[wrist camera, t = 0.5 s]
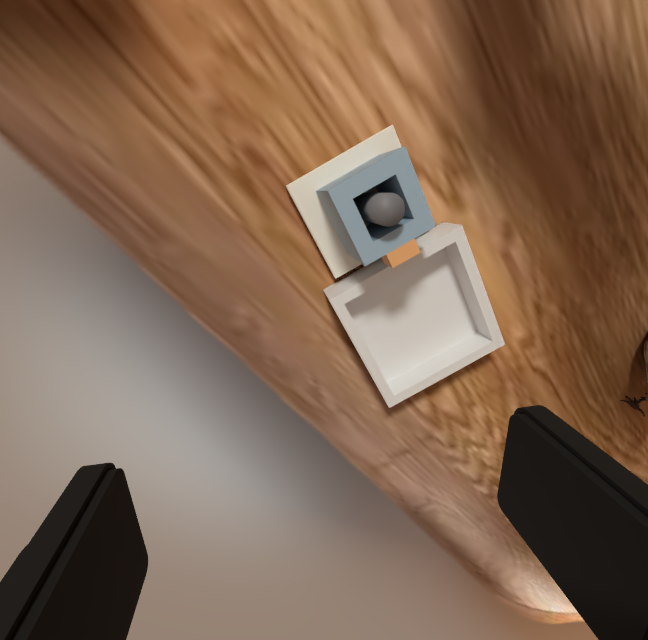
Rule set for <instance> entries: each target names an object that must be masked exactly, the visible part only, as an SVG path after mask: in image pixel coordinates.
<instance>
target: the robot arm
mask: <svg viewBox="0 0 648 640" xmlns="http://www.w3.org/2000/svg"><path fill="white" fill-rule="evenodd" d="M497 498H498V503H499V506H500V508H501V510H502V511H503V513H504V514H505V515H506V517H507V518H508V519H509V521H510V522H511V523H512V525H513V526H514V527H515V529H516V530H517V531H518V533H519V534H520V535H521V537H522V538H523V539H524V541H525V542H526V543H527V545H528V546H529V547H530V549H531V550H532V551H533V553H534V554H535V555H536V557H537V558H538V559H539V561H540V562H541V563H542V565H543V566H544V567H545V569H546V570H547V571H548V573H549V574H550V575H551V577H552V578H553V579H554V581H555V582H556V583H557V585H558V586H559V587H560V589H561V590H562V591H563V593H564V594H565V595H566V597H567V598H568V599H569V601H570V602H571V603H572V605H573V606H574V607H575V609H576V610H577V611H578V613H579V614H580V615H581V617H582V618H583V619H584V621H585V622H586V623H587V625H588V626H589V627H590V628H591V630H592V631H593V633H594V634H595V635H596V637H597V638H598V639H599V640H648V485H647V484H646V483H645V482H643V481H642V480H641V479H639V478H638V477H637V476H635V475H634V474H633V473H632V472H630V471H629V470H628V469H626V468H625V467H624V466H622V465H621V464H620V463H618V462H617V461H616V460H614V459H613V458H612V457H610V456H609V455H608V454H606V453H605V452H604V451H603V450H601V449H600V448H599V447H597V446H596V445H595V444H593V443H592V442H591V441H589V440H588V439H587V438H585V437H584V436H583V435H581V434H580V433H579V432H578V431H576V430H575V429H574V428H572V427H571V426H570V425H568V424H567V423H566V422H564V421H563V420H562V419H560V418H559V417H558V416H556V415H555V414H554V413H552V412H551V411H550V410H549V409H547V408H546V407H544V406H541V405H537V406H529V407H522V408H518V409H517V410H516V411H515V413H514V415H512V416H511V417H510V420H509V426H508V432H507V438H506V445H505V451H504V457H503V463H502V470H501V476H500V482H499V489H498V496H497ZM147 567H148V555H147V551H146V547H145V544H144V540H143V537H142V533H141V530H140V526H139V523H138V519H137V516H136V512H135V509H134V505H133V502H132V498H131V495H130V491H129V488H128V484H127V481H126V477H125V474H124V471H123V470H122V469H121V468H119V469H116V468H115V465H114V464H113V463H104V464H97V465H89V466H83V467H81V468H80V469H79V470H78V471H77V472H76V474H75V476H74V477H73V478H72V480H71V481H70V483H69V484H68V486H67V487H66V489H65V490H64V492H63V493H62V495H61V496H60V498H59V499H58V501H57V502H56V504H55V505H54V507H53V508H52V510H51V511H50V513H49V514H48V516H47V517H46V519H45V520H44V522H43V523H42V525H41V526H40V528H39V529H38V531H37V532H36V533H35V535H34V537H33V538H32V539H31V541H30V542H29V544H28V545H27V546H26V547H25V548H24V549H23V550H22V551H21V553H20V554H19V555H18V557H17V558H16V560H15V561H14V563H13V564H12V566H11V567H10V569H9V570H8V572H7V573H6V575H5V576H4V578H3V579H2V581H1V582H0V640H126V638H127V635H128V632H129V628H130V625H131V622H132V619H133V615H134V612H135V609H136V605H137V602H138V599H139V595H140V593H141V589H142V586H143V583H144V580H145V576H146V573H147Z"/></svg>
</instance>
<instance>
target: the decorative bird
mask: <svg viewBox="0 0 648 640" xmlns="http://www.w3.org/2000/svg"><path fill="white" fill-rule="evenodd" d="M644 360H645V365H646V371H647V376H646V378H647V384H648V338H647V340H646V342H645V344H644ZM645 394H647V393H645ZM626 397H627V396H626ZM627 398H628V399H629V400H630V402H629V401H626V400H620V401H624V402H627V403H628V404H630V405H631V406H632V407H633V408H634V409H637V410H639V411H640V412H641V413H642V414H643V416H644V417H645V414H644V412H643V411H642V410H641V409H640V408H639V405H638V404H639V403H640V402H641V401H644V400H648V394H647V396H646V397H641V399H639V400H638V401H637V400H636V398H635V397H634V401H633V400H632V399H631V398H629V397H627Z"/></svg>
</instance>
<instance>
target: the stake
mask: <svg viewBox="0 0 648 640" xmlns="http://www.w3.org/2000/svg"><path fill="white" fill-rule="evenodd" d="M398 148H401V144H400V142H399V139H398V137H397V134H396V132H395V129H394V127H393V125H391V126H389V127H387V128H385V129H384V130H382V131H380V132H378V133H377V134H375V135H373V136H371V137H370V138H368V139H366V140H364V141H363V142H361V143H359V144H358V145H356V146H354V147H352V148H351V149H349V150H347V151H345V152H344V153H342V154H340V155H338V156H337V157H335V158H333V159H331V160H330V161H328V162H326V163H325V164H323V165H321V166H319V167H318V168H316V169H314V170H312V171H311V172H309V173H307V174H305V175H304V176H302V177H300V178H299V179H297V180H295V181H293V182H292V183H290V184H288V185H286V186H285V187H286V188H287V190H288V192H289V194H290V196H291V198H292V200H293V202H294V203H295V205H296V207H297V209H298V211H299V213H300V215H301V216H302V218H303V220H304V222H305V224H306V226H307V228H308V230H309V231H310V233H311V235H312V237H313V239H314V241H315V243H316V244H317V246H318V248H319V250H320V252H321V254H322V256H323V258H324V259H325V261H326V263H327V265H328V267H329V269H330V271H331V272H332V274H333V276H334V277H335V279H336V278H338V277H340V276H341V275H343V274H345V273H347V272H348V271H350V270H352V269H354V268H356V267H357V266H359V265H361V263H360V262H358V261H357V260H356V259H354V258H353V257H352V256H350V255H349V254H348V253H347V252H346V250H345V248H344V246H343V244H342V242H341V240H340V238H339V236H338V234H337V232H336V230H335V228H334V226H333V224H332V222H331V220H330V218H329V216H328V214H327V212H326V210H325V208H324V206H323V204H322V202H321V200H320V198H319V196H318V194H317V192H316V191H317V190H318V189H320V188H322V187H323V186H325V185H327V184H329V183H330V182H332V181H334V180H336V179H337V178H339V177H341V176H343V175H344V174H346V173H348V172H350V171H351V170H353V169H355V168H357V167H358V166H360V165H362V164H364V163H365V162H367V161H369V160H370V159H372V158H374V157H376V156H377V155H380V154H383V153H386V152H389V151H392V150H395V149H398ZM353 201H354V203H355V205H356V207H357V209H358V211H359V213H360V215H361V218H362V220H363V222H364V224H365V226H368V225H370V224H371V223H375V224H379V225H383V226H387V227H390V226H394V225H396V224H398V223H399V222H400V221H401V220H402V218H403V216H404V213H405V204H404V201H403V199H402V198H401V197H400V196H399V195H397V194H395V193H378V191H377V189H376V187H375V186H374V187H373V188H371V189H369V190H367V191H366V192H364V193H362V194H360V195H359V196H357V197H355V198H353Z"/></svg>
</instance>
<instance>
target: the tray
mask: <svg viewBox="0 0 648 640" xmlns="http://www.w3.org/2000/svg"><path fill="white" fill-rule="evenodd" d="M415 240H416V242H417V245H418V247H419V250H420V252H421V253H419V254H417V255H416V256H414V257H412V258H410V259H408V260H407V261H405V262H403V263H401V264H400V265H398V266H396V267H394V268H391V267H390V266H388V265H386V264H385V263H384V261H383V259H382V257H381V258H379V259H377V260H376V261H374V262H372V263H370V264H368V265H367V266H364V267H363V268H361V269H359V270H357V271H355V272H354V273H352V274H350V275H348V276H347V277H345V278H343V279H341V280H340V281H338V282H336V283H334V284H332V285H331V286H329V287H327V288H325V289H324V290H323V291H324V293H325V294H326V296H327V298H328V300H329V302H330V303H331V305H332V307H333V309H334V311H335V312H336V314H337V316H338V318H339V320H340V321H341V323H342V325H343V327H344V329H345V330H346V332H347V334H348V336H349V338H350V339H351V341H352V343H353V345H354V346H355V348H356V350H357V352H358V354H359V355H360V357H361V359H362V361H363V363H364V364H365V366H366V368H367V370H368V372H369V373H370V375H371V377H372V379H373V381H374V382H375V384H376V386H377V388H378V390H379V391H380V393H381V395H382V396H383V398H384V400H385V402H386V403H387V405H388V407H389V408H390V407H392V406H394V405H396V404H398V403H400V402H401V401H403V400H405V399H407V398H409V397H410V396H412V395H414V394H416V393H418V392H419V391H421V390H423V389H425V388H427V387H429V386H430V385H432V384H434V383H436V382H438V381H439V380H441V379H443V378H445V377H447V376H449V375H450V374H452V373H454V372H456V371H458V370H459V369H461V368H463V367H465V366H467V365H469V364H470V363H472V362H474V361H476V360H478V359H479V358H481V357H483V356H485V355H487V354H488V353H490V352H492V351H494V350H496V349H498V348H499V347H501V346H503V345H505V343H504V340H503V337H502V335H501V332H500V329H499V326H498V324H497V321H496V318H495V315H494V312H493V310H492V307H491V304H490V301H489V299H488V296H487V293H486V290H485V287H484V285H483V282H482V279H481V276H480V274H479V271H478V268H477V265H476V262H475V260H474V257H473V254H472V251H471V249H470V246H469V243H468V240H467V238H466V235H465V232H464V229H463V226H462V225H458V224H452V223H446V222H442V223H440V224H439V225H437V226H436V227H434V228H432V229H430V230H429V231H427V232H425V233H423V234H422V235H420V236H418V237H416V238H415Z"/></svg>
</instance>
